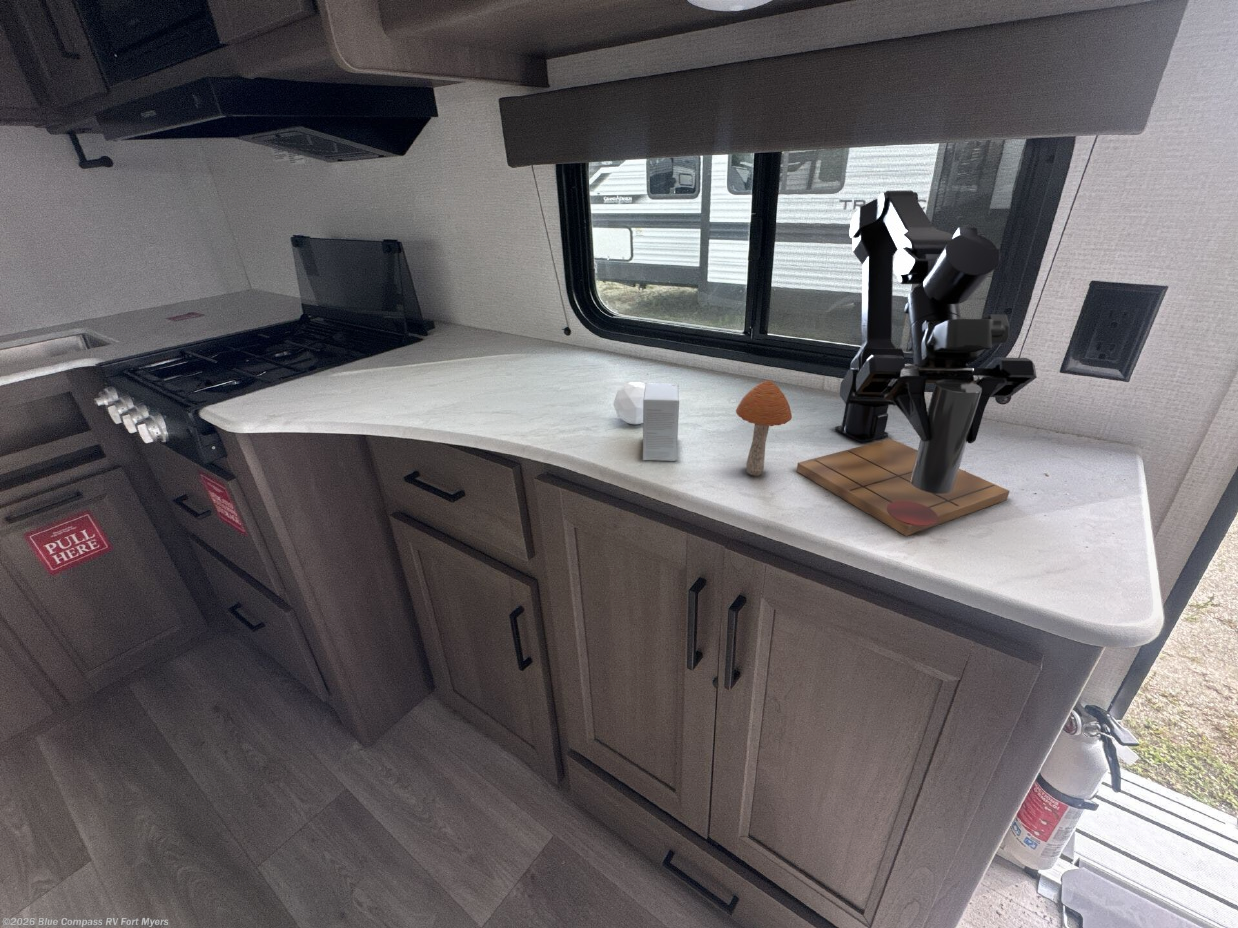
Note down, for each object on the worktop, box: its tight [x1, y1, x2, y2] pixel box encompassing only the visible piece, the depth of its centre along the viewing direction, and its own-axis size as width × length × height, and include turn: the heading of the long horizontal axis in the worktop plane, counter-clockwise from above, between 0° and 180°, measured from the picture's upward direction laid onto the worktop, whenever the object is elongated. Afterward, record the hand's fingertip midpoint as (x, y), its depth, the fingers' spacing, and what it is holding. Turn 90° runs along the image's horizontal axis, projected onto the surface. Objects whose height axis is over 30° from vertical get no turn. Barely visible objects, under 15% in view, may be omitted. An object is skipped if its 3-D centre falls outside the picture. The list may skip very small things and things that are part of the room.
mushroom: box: [735, 379, 793, 477], centre depth 83 cm, size 8×8×15 cm
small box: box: [642, 382, 680, 462], centre depth 92 cm, size 8×6×10 cm
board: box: [796, 438, 1011, 537], centre depth 82 cm, size 21×20×2 cm
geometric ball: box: [613, 382, 646, 425], centre depth 104 cm, size 8×8×8 cm
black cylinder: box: [910, 379, 982, 494], centre depth 68 cm, size 5×5×13 cm
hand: (948, 441), depth 67 cm, fingers closed on black cylinder, 5 cm apart
